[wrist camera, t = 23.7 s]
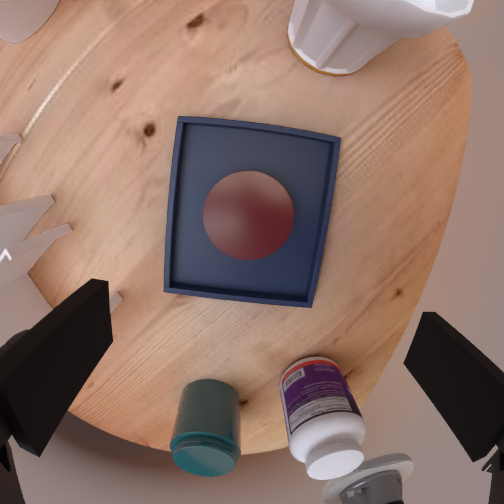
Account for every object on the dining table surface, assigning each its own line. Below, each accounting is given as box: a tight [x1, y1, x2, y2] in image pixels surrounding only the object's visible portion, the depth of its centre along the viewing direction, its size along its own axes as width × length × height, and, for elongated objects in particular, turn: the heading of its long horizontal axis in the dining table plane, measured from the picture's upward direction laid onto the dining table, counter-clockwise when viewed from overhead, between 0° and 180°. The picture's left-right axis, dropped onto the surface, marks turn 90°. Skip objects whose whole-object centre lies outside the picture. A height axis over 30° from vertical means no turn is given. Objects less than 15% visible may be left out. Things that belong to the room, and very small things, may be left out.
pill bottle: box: [280, 357, 366, 480], centre depth 28 cm, size 8×8×14 cm
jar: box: [170, 380, 241, 477], centre depth 30 cm, size 8×8×11 cm
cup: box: [287, 0, 475, 76], centre depth 15 cm, size 11×11×17 cm
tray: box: [164, 116, 341, 308], centre depth 28 cm, size 17×15×2 cm
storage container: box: [0, 134, 123, 347], centre depth 23 cm, size 25×11×11 cm, turn 34°
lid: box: [203, 170, 294, 260], centre depth 27 cm, size 8×8×2 cm
